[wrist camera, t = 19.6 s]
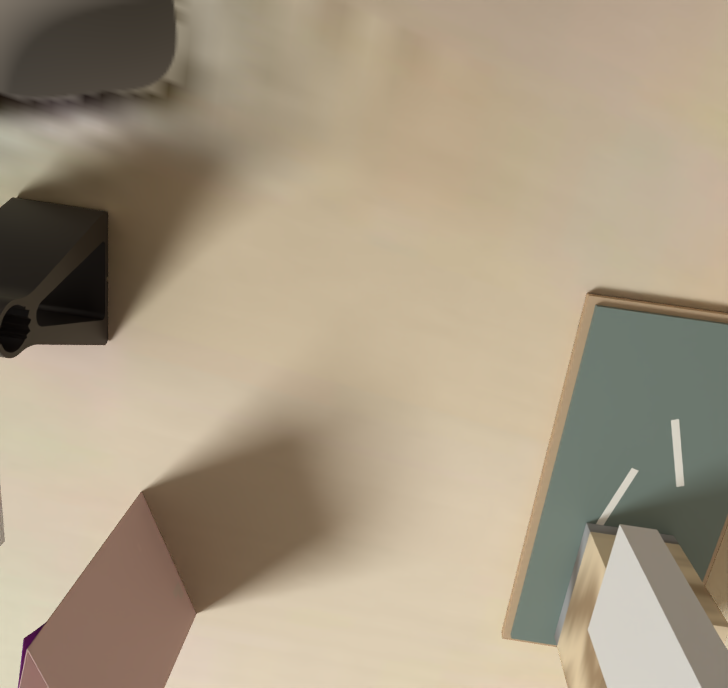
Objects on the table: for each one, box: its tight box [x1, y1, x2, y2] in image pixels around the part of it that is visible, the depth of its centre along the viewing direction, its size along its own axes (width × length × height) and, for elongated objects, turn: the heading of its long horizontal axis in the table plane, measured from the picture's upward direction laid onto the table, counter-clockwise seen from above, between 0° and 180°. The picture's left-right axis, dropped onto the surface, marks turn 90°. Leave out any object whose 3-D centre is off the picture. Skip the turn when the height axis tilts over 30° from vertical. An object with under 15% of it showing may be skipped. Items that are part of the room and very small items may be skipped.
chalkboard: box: [502, 293, 728, 647], centre depth 44 cm, size 27×13×1 cm, turn 173°
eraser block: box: [554, 523, 728, 688], centre depth 42 cm, size 10×6×8 cm, turn 173°
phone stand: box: [0, 198, 108, 358], centre depth 37 cm, size 9×6×12 cm, turn 172°
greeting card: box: [18, 492, 196, 688], centre depth 43 cm, size 11×7×15 cm, turn 161°
